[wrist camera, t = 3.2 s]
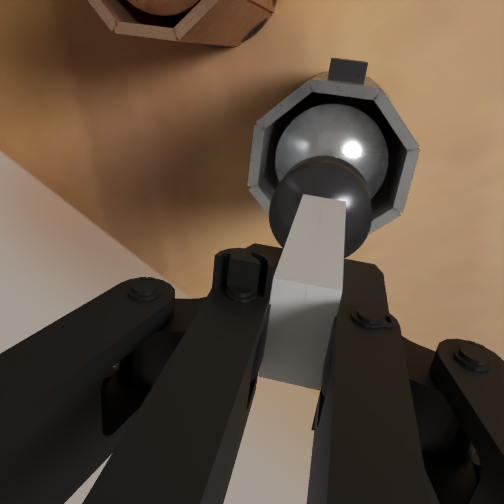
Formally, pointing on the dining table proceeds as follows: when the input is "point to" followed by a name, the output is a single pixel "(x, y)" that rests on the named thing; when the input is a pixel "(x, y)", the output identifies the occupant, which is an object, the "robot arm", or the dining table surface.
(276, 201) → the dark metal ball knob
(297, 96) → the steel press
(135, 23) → the copper press
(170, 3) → the copper press plunger
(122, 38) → the dining table surface
